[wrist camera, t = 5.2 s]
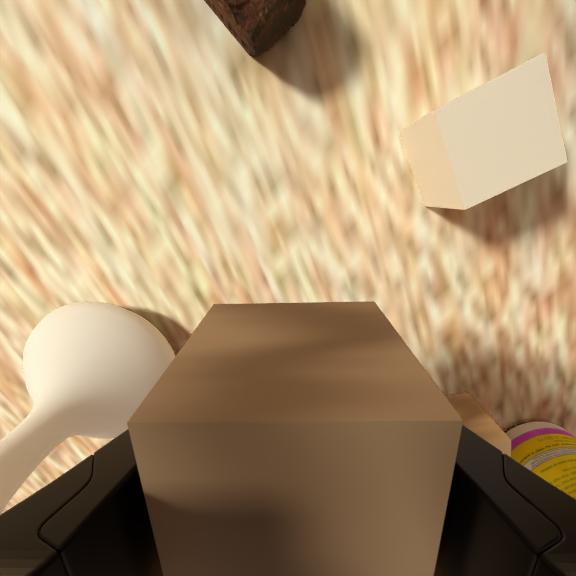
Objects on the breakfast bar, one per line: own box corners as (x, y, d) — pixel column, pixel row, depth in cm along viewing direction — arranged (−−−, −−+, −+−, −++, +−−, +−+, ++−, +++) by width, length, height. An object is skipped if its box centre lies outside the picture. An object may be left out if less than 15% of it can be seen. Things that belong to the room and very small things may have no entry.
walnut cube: (374, 301, 9) (463, 420, 4) (365, 431, 11) (424, 625, 6) (214, 304, 9) (127, 423, 4) (227, 432, 11) (174, 623, 6)
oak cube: (468, 391, 24) (511, 440, 19) (469, 439, 25) (509, 495, 21) (406, 400, 24) (433, 450, 20) (410, 447, 26) (437, 504, 21)
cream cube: (477, 90, 18) (545, 51, 13) (498, 170, 19) (567, 162, 14) (398, 132, 18) (434, 109, 14) (423, 206, 20) (465, 209, 15)
